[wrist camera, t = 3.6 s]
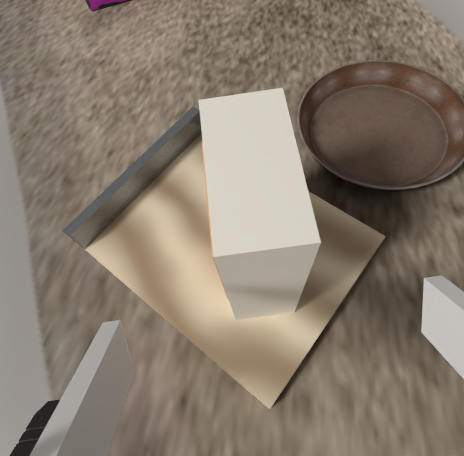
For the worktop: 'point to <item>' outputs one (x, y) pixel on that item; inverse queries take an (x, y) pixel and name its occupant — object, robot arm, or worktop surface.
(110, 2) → the candy bar box
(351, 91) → the plant saucer
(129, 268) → the shelf board
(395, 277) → the worktop surface
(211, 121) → the carton
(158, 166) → the rail
